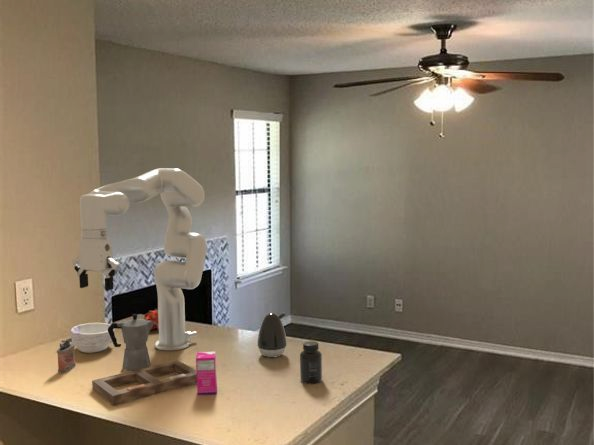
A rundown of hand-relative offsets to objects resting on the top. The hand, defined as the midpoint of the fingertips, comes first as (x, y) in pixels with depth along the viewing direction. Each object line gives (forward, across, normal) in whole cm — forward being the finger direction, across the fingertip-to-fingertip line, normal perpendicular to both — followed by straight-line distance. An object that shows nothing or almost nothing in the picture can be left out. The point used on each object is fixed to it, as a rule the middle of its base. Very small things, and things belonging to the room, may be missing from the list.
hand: (96, 288), depth 203 cm
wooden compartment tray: (+29, -18, -1) cm, 34 cm away
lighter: (+30, +16, -3) cm, 34 cm away
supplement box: (+30, -36, -4) cm, 47 cm away
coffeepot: (+30, -3, -13) cm, 33 cm away
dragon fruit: (+30, +16, -53) cm, 63 cm away
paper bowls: (+30, +22, -23) cm, 44 cm away
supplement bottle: (+30, -62, -24) cm, 73 cm away
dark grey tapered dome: (+30, -41, -41) cm, 65 cm away
